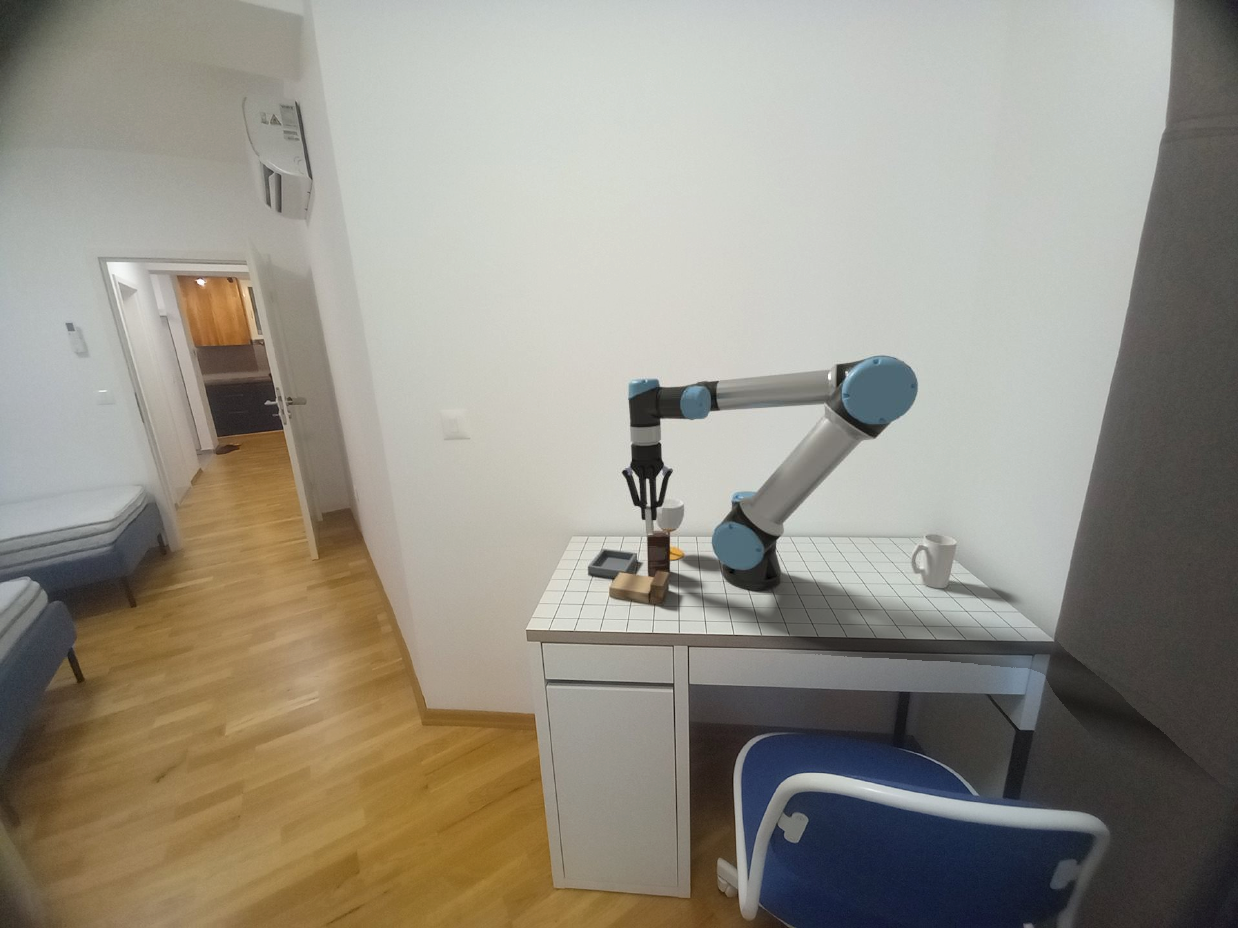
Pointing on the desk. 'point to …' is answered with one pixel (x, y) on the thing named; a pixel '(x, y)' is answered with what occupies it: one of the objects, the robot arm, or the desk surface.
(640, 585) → the light brown wooden block
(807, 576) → the desk surface
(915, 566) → the mug
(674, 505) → the cup
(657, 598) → the brown rectangular block
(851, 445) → the robot arm
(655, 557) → the box
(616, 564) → the tray
